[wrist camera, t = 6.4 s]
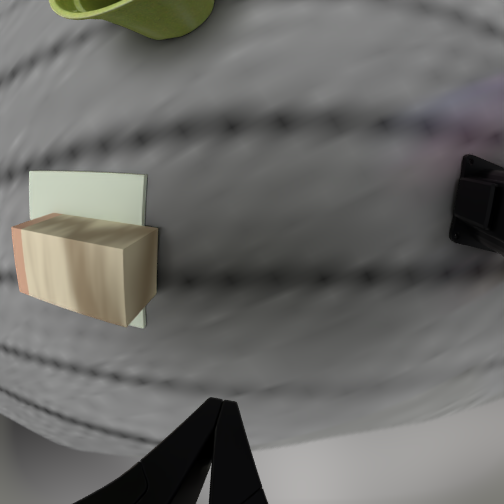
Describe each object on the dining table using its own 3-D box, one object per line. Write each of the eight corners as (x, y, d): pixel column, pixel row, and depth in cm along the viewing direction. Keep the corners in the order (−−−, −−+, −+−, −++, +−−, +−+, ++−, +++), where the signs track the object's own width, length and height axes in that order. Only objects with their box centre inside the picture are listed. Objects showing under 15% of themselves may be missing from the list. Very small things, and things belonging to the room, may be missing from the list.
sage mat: (147, 174, 19) (144, 175, 19) (146, 325, 23) (143, 328, 23) (33, 170, 20) (29, 171, 20) (42, 295, 24) (39, 297, 23)
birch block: (123, 249, 15) (11, 227, 16) (126, 327, 17) (19, 291, 17) (158, 228, 20) (53, 212, 20) (156, 293, 21) (57, 269, 22)
